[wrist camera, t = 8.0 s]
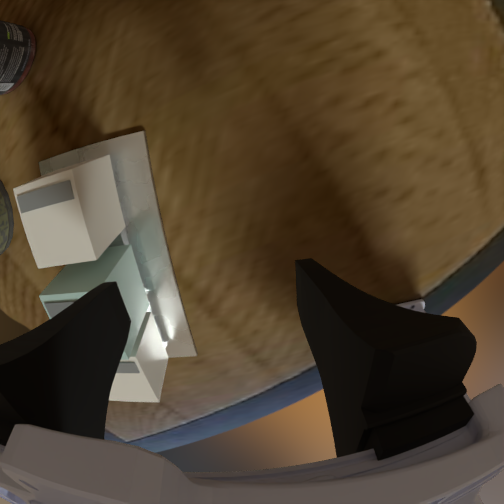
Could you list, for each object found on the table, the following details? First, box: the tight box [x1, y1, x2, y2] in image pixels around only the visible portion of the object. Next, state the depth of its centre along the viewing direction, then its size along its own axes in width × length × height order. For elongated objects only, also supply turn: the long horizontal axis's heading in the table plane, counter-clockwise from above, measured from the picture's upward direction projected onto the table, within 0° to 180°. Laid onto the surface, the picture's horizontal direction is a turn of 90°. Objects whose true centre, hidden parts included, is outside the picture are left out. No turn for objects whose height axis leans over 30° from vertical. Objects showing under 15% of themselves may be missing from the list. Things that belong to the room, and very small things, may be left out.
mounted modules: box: [13, 155, 169, 402], centre depth 18 cm, size 4×17×5 cm, turn 6°
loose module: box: [39, 244, 149, 360], centre depth 18 cm, size 4×5×6 cm
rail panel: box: [39, 131, 197, 357], centre depth 21 cm, size 9×19×1 cm, turn 6°
